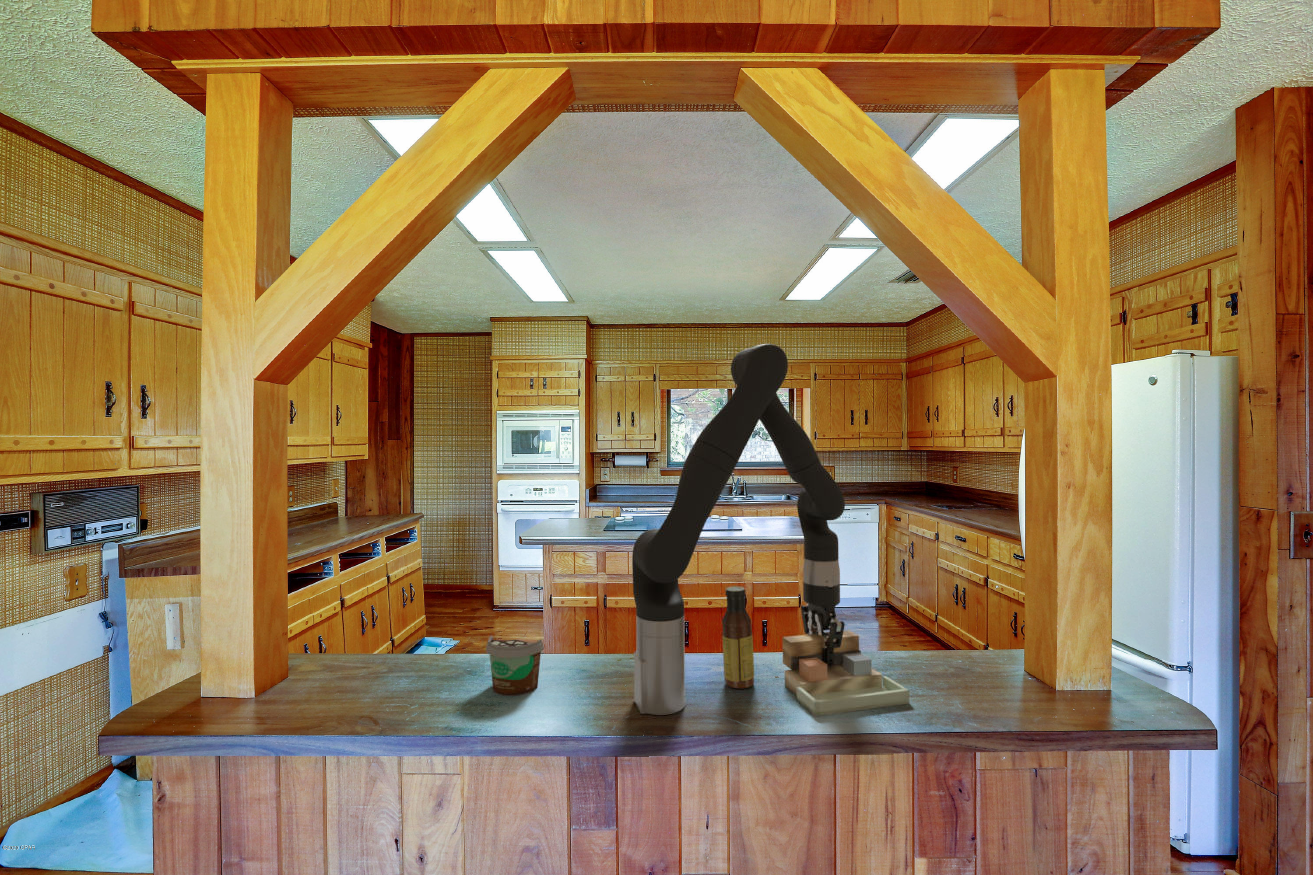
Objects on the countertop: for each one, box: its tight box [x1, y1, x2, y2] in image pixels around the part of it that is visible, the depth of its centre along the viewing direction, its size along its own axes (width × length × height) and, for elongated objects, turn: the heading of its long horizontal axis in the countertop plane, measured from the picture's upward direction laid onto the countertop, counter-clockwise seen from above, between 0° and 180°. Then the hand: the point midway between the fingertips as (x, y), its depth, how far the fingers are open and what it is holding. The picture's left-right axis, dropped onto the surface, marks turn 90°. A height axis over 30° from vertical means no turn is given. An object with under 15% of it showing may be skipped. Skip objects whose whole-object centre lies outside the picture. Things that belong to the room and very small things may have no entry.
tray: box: [796, 675, 910, 717], centre depth 112 cm, size 20×7×2 cm, turn 104°
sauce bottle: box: [721, 585, 755, 690], centre depth 121 cm, size 7×6×20 cm
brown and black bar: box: [782, 630, 862, 671], centre depth 123 cm, size 16×4×6 cm, turn 105°
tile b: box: [843, 652, 873, 676], centre depth 119 cm, size 4×4×3 cm
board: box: [784, 665, 883, 696], centre depth 119 cm, size 18×7×3 cm, turn 104°
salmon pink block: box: [799, 657, 827, 682], centre depth 117 cm, size 4×4×3 cm
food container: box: [485, 635, 545, 697], centre depth 118 cm, size 12×6×10 cm, turn 76°
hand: (821, 660), depth 123 cm, fingers closed on brown and black bar, 4 cm apart
